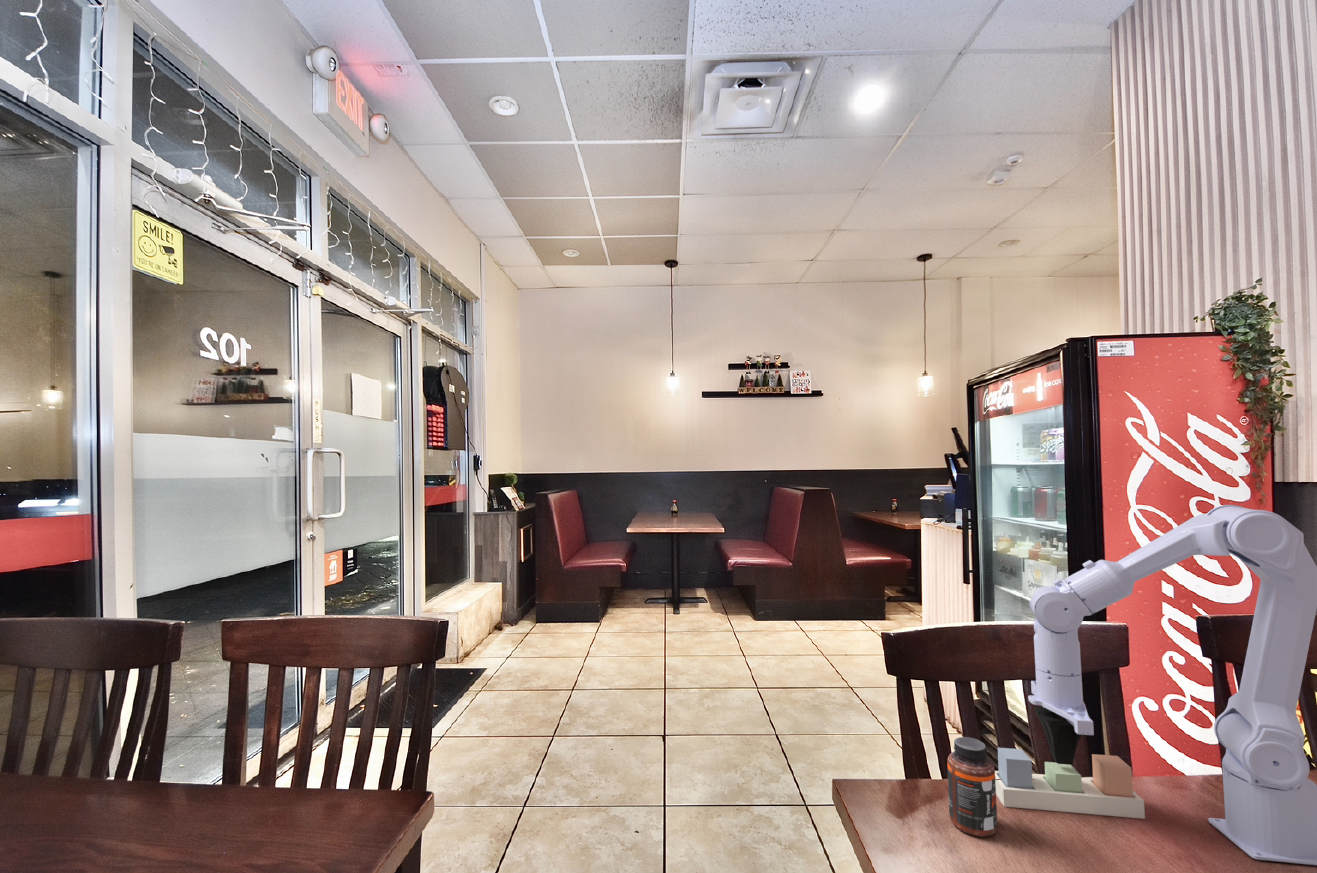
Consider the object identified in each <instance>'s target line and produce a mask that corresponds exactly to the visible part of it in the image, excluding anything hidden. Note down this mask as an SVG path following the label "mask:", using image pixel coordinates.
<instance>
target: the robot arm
mask: <svg viewBox="0 0 1317 873" xmlns="http://www.w3.org/2000/svg"><path fill="white" fill-rule="evenodd" d="M1304 540H1305V539H1304V533H1303V531H1301V530H1299V529H1298V528H1297V527H1296V526H1294V525H1293V524H1292V523H1291V522H1289V521H1288V520H1287V519H1285V518H1284V517H1283V516H1281V515H1280V514H1277V513H1275V512H1272V511H1269V510H1265V509H1251V508H1247V507H1243V506H1240V505H1236V504H1235V505H1234V504H1223V505H1219V506H1216V507H1213V508H1211V509H1210V511H1208V512H1207V513H1205V514H1204V513H1202V514H1198V515H1195V516H1193V517H1191V518H1189V519H1188V520H1187V521H1185V522H1183V523H1181V524H1180V525H1178V526H1176V527H1174V528H1172V529H1171V530H1169V531H1167V532H1165V533H1164V534H1162V535H1161V536H1159V537H1157V538H1155V539H1154V540H1151V541H1150V542H1148V543H1146V544H1145V545H1143V546H1142V547H1140V548H1138V549H1136V550H1135V551H1133V552H1131V553H1130V554H1128V555H1126V556H1125V557H1122V558H1121V559H1120V560H1118V561H1112V560H1111V561H1109V560H1106V559H1099V560H1097V561H1095V562H1094V561H1092V560H1090V559H1088V560H1087V561H1085V562H1084V563H1082V566H1083V567H1084V568H1082V569H1080V570H1079V571H1076V572H1075V573H1072V574H1071V575H1069V576H1067V577H1065V578H1063V579H1061V580H1060V579H1059V578H1056V579H1054V580H1052V584H1053V586H1052V585H1051V586H1049V585H1046V586H1042V587H1039V588H1038V589H1037V590H1035V591H1034V592H1033V593H1032V596H1031V597H1030V601H1028V605H1029V608H1030V610H1031V613H1032V614H1033V615H1034V616H1035V618H1034V624H1033V630H1034V635H1033V646H1034V647H1033V648H1034V665H1035V680H1031V681H1030V687H1031V690H1030V691H1031V694H1032V695H1028V696H1027V698H1028V702H1030V704H1032V705H1034V706H1035V707H1034V713H1035V714H1036V716H1037V717H1038V719H1039V722H1040V723H1041V727H1042V728H1043V731H1044V733H1045V737H1046V741H1047V744H1048V746H1049V747H1048V748H1049V750H1050V755H1051V757H1052V759H1053V761H1054V762H1055V763H1057V764H1067V765H1071V766H1072V765H1073V763H1074V760H1075V757H1076V754H1077V753H1076V752H1077V748H1078V745H1079V742H1080V740H1081V738H1082V736H1084V735H1085V736H1094V735H1095V732H1094V730H1095V729H1094V728H1095V727H1094V721H1093V720H1092V719H1091V718H1090V716H1089V713H1088V710H1087V707H1086V704H1085V702H1084V696H1083V695H1084V694H1083V681H1082V680H1083V678H1082V662H1081V659H1082V658H1081V645H1080V644H1081V643H1080V641H1079V635H1078V634H1079V633H1078V630H1079V628H1080V626H1081V625H1082V624H1083V620H1084V617H1086V616H1092V615H1093V614H1095V613H1098V612H1099V611H1102V610H1103V609H1106V608H1107V607H1109V606H1111V605H1113V604H1116V603H1117V602H1119V601H1122V600H1123V599H1125V598H1127V597H1129V596H1131V595H1132V594H1133V590H1134V587H1135V583H1136V582H1137V581H1140V580H1142V579H1144V578H1146V577H1148V576H1151V575H1153V574H1155V573H1157V572H1159V571H1162V570H1164V569H1167V568H1169V567H1171V566H1173V565H1175V564H1177V563H1180V562H1182V561H1184V560H1187V559H1189V558H1192V557H1194V556H1214V557H1215V556H1219V557H1230V556H1231V555H1232V556H1235V557H1236V558H1238V559H1239V560H1240V561H1241V562H1242V563H1243V564H1244V565H1245V566H1246V567H1248V568H1249V569H1250V570H1251V571H1252V573H1253V574H1255V575H1256V577H1257V578H1259V580H1260V583H1259V589H1258V593H1257V598H1256V604H1255V609H1254V614H1253V619H1252V625H1251V630H1250V634H1249V639H1248V645H1247V648H1246V653H1245V654H1246V655H1245V659H1244V664H1243V670H1242V676H1241V680H1240V684H1239V689H1238V691H1237V692H1236V693H1234V694H1233V695H1232V696H1230V697H1229V698H1228V702H1227V705H1226V708H1225V710H1224V711H1223V712H1222V713H1221V714H1220V715H1218V716H1217V718H1216V719H1215V720H1214V721H1215V722H1214V724H1213V731H1214V732H1213V733H1214V735H1215V737H1216V739H1217V740H1218V742H1219V743H1220V744H1221V745H1222V746H1223V747H1224V748H1225V754H1224V756H1223V758H1222V759H1221V764H1222V765H1221V766H1222V767H1221V768H1222V782H1223V799H1224V817H1225V818H1215V817H1209V818H1208V819H1207V820H1208V823H1209V824H1211V825H1212V826H1213V827H1214V828H1216V829H1217V830H1218V831H1219V832H1221V834H1223V835H1224V836H1225V837H1226V838H1227V839H1229V840H1230V841H1231V842H1232V843H1234V844H1235V845H1236V846H1237V847H1239V848H1240V849H1241V850H1242V851H1243V852H1245V853H1246V854H1247V855H1248V856H1250V858H1252V859H1253V860H1259V861H1270V862H1277V863H1278V862H1280V863H1282V862H1283V863H1290V864H1298V865H1299V864H1300V865H1301V864H1302V865H1310V866H1317V784H1316V783H1315V782H1314V781H1313V780H1311V779H1310V778H1308V777H1309V774H1310V764H1309V760H1308V758H1307V756H1306V753H1305V751H1304V743H1305V733H1304V730H1303V728H1302V726H1301V723H1300V721H1299V719H1298V715H1297V712H1296V711H1297V708H1298V702H1299V698H1300V692H1301V687H1302V684H1303V683H1302V682H1303V677H1304V673H1305V667H1306V663H1307V660H1308V659H1307V658H1308V652H1309V649H1310V648H1309V647H1310V643H1311V638H1312V634H1313V633H1312V632H1313V628H1314V623H1315V620H1316V619H1315V618H1316V613H1317V565H1316V563H1315V561H1314V559H1313V558H1312V556H1311V554H1310V552H1309V550H1308V548H1307V546H1306V544H1305V542H1304Z"/></svg>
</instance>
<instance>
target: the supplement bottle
mask: <svg viewBox="0 0 1317 873" xmlns="http://www.w3.org/2000/svg"><path fill="white" fill-rule="evenodd" d="M953 741H954V744H953V750H954V751H951V753H949V755H948V757H947V791H948V813H949V819H950V821H951V823H952V824H953V825H954V827H956V828H957V829H959V830H960V831H962V832H964V833H966V834H969V835H971V836H974V837H975V836H976V837H991V836H993V835H994V834H995V833H997V829H998V810H997V805H998V804H997V795H996V783H995V780H996V779H995V771H996V770H995V769H996V768H995V765H994V763H993V762H992V761H991V760H990V759H989V758H988V756H987V755H988V753H987V746H986V744H985V743H984V742H982V741H981V740H979V739H976V738H973V737H968V736H967V737H966V736H959V737H957V738H956V737H955V739H954V740H953Z"/></svg>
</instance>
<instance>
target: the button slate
mask: <svg viewBox="0 0 1317 873" xmlns="http://www.w3.org/2000/svg"><path fill="white" fill-rule="evenodd" d="M997 761H998V762H997V764H998V765H997V766H998V771H999V778H1000V779H1002V780H1001V781H1002V782H1003V783H1004V785H1005V786H1006V787H1010V788H1022V789H1033V782H1032V774H1033V765H1032V759H1031V758H1030V757H1029V756H1028V755H1027V754H1026V752H1025V751H1024V750H1023V749H1022V748H1010V747H1009V748H1008V747H997Z"/></svg>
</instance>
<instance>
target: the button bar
mask: <svg viewBox="0 0 1317 873" xmlns="http://www.w3.org/2000/svg"><path fill="white" fill-rule="evenodd" d="M995 779H1000V778H999V770H995ZM1032 779H1035V780H1032V782H1033V789H1022V788H1010V787H1006V786H1005V785H1004V783H1003V782H1002V781H1001V780H995V783H996V798H998V800H999V802H1001V804H1002V805H1003V807H1005V808H1018V809H1020V808H1021V809H1026V810H1027V809H1028V810H1040V811H1041V810H1042V811H1052V812H1062V813H1063V812H1064V813H1072V814H1073V813H1076V814H1086V815H1087V814H1088V815H1098V816H1109V817H1120V818H1122V817H1123V818H1131V819H1144V820H1145V819H1146V816H1145V800H1144V799H1143V798H1142V797H1140V796H1139V795H1138V794H1137V793H1136V792H1135V791H1134V790H1133V798H1132V797H1120V796H1108V795H1104V794H1103V793H1102V792H1101V791H1100V790H1099V789H1098V788H1097V787H1096V786H1095V785H1094V784H1093V777H1092V778H1091V777H1082V776H1081V780H1082V793H1071V792H1059V791H1054V790H1053V788H1052V787H1051V786H1050V785H1049V784H1048V783H1047V781H1046V780H1045V774H1041V773H1032Z"/></svg>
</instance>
